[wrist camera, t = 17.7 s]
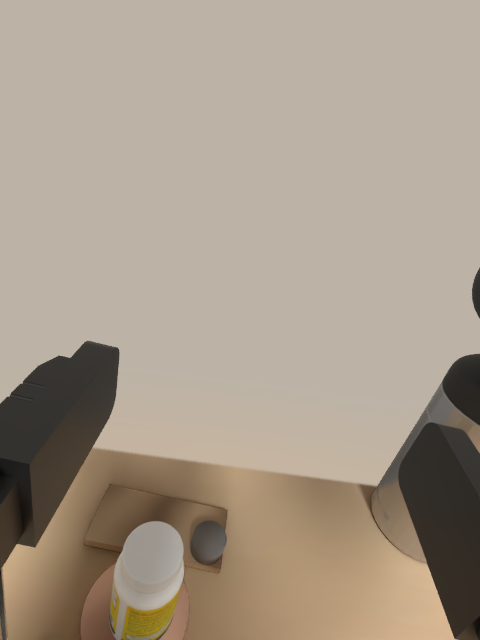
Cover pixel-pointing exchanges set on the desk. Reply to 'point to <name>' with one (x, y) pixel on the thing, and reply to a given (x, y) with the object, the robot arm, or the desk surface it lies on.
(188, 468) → the desk surface
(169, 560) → the supplement bottle
